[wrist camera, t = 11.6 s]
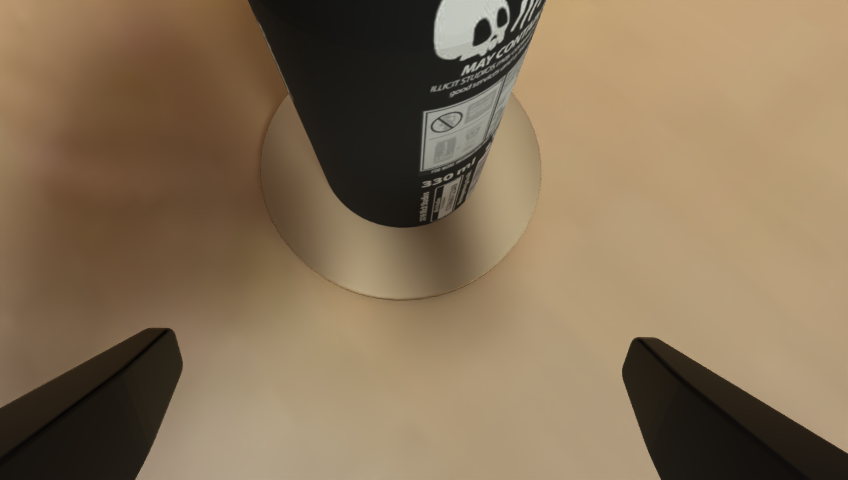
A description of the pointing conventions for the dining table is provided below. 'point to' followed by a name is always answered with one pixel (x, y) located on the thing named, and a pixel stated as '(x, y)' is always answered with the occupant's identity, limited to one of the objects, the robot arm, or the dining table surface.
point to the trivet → (400, 247)
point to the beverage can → (399, 93)
